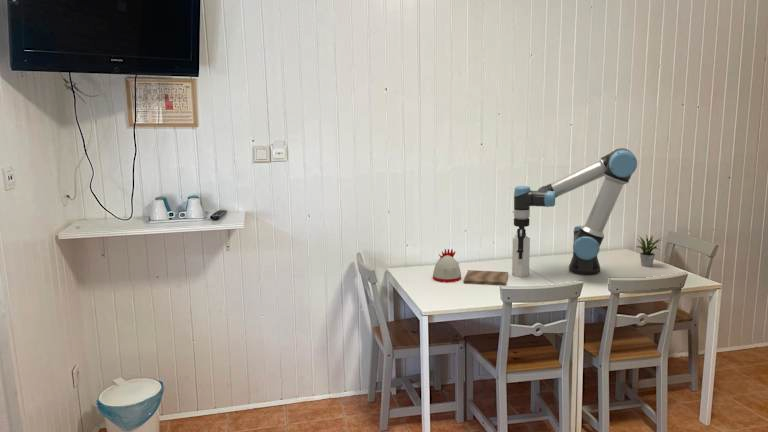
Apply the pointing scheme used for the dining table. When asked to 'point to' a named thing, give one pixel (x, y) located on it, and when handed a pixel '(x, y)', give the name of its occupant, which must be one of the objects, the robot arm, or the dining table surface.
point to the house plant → (647, 252)
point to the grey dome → (447, 268)
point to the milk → (523, 269)
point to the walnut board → (486, 277)
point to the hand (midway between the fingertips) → (520, 262)
